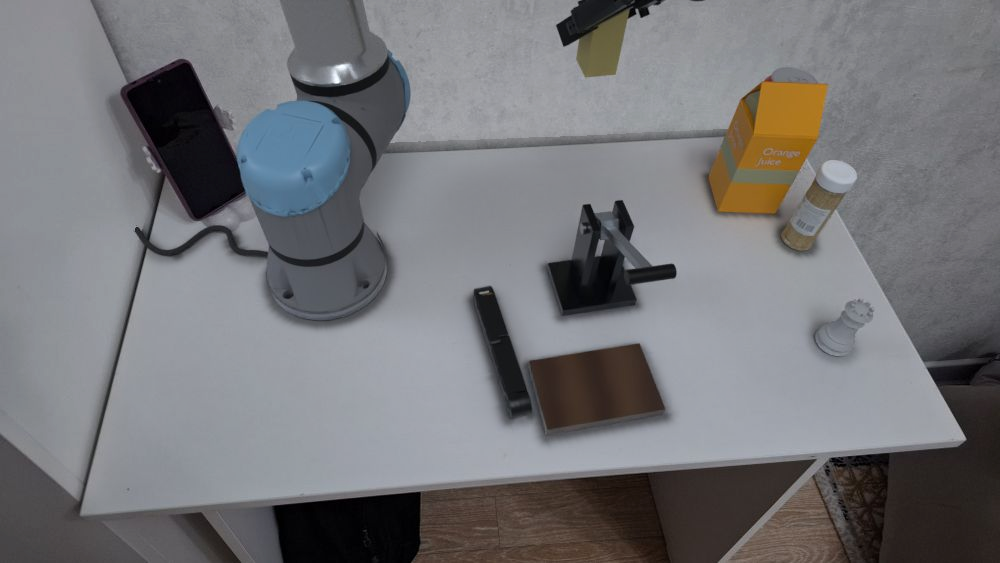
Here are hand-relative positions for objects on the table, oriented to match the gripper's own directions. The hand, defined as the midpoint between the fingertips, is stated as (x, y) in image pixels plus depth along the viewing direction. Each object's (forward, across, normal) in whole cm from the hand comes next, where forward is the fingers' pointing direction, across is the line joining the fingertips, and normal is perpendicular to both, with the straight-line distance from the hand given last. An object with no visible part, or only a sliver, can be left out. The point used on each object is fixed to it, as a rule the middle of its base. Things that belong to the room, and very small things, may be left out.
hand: (580, 28), depth 77 cm
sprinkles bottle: (-3, +21, -38) cm, 44 cm away
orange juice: (+4, +21, -30) cm, 37 cm away
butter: (0, 0, -5) cm, 5 cm away
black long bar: (+2, -26, -33) cm, 42 cm away
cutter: (+3, -10, -31) cm, 33 cm away
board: (-6, -19, -40) cm, 45 cm away
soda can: (+7, +29, -27) cm, 41 cm away
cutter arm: (-10, -12, -26) cm, 30 cm away
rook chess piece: (-13, +11, -48) cm, 51 cm away
